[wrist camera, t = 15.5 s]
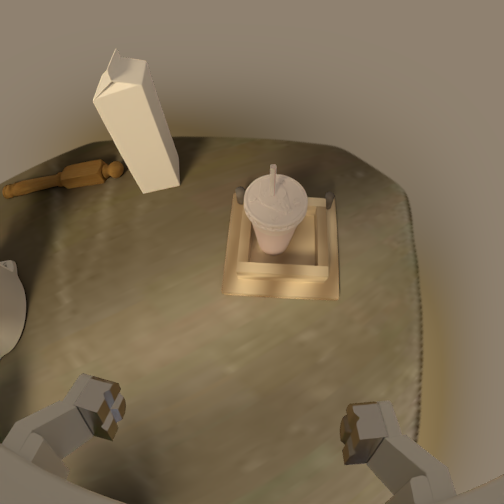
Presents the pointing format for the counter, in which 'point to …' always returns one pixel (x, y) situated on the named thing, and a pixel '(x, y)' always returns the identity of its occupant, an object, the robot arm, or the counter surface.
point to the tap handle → (68, 178)
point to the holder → (284, 256)
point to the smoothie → (275, 209)
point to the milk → (137, 123)
